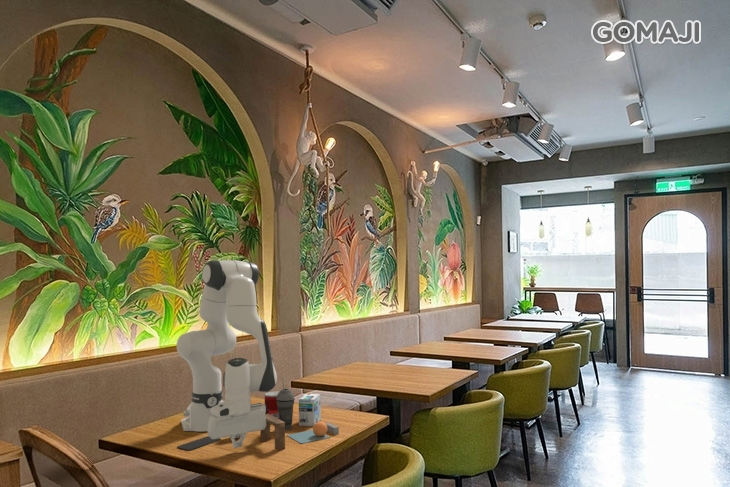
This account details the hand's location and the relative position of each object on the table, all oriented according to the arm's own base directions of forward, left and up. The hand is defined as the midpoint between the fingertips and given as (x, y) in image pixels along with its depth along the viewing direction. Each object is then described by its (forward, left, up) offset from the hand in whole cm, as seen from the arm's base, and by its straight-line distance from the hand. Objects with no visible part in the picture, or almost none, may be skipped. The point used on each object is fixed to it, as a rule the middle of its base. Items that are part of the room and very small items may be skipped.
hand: (237, 446), depth 183 cm
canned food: (-29, +27, -2) cm, 40 cm away
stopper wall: (0, +38, -2) cm, 38 cm away
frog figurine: (-15, +5, -2) cm, 16 cm away
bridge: (0, +13, -2) cm, 13 cm away
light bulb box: (-16, +37, -2) cm, 40 cm away
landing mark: (0, +28, -2) cm, 28 cm away
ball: (+2, +31, +1) cm, 31 cm away
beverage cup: (-14, +25, -2) cm, 29 cm away
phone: (-17, -8, -2) cm, 19 cm away
